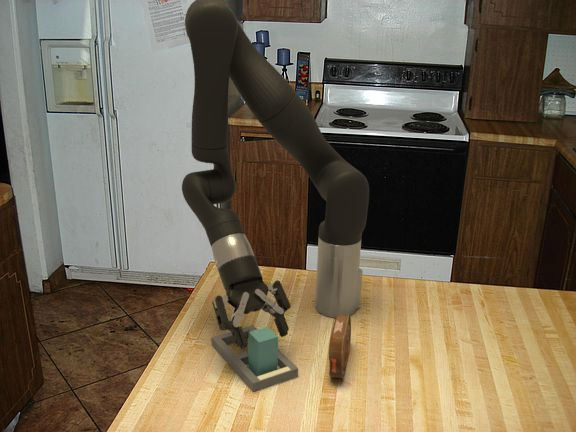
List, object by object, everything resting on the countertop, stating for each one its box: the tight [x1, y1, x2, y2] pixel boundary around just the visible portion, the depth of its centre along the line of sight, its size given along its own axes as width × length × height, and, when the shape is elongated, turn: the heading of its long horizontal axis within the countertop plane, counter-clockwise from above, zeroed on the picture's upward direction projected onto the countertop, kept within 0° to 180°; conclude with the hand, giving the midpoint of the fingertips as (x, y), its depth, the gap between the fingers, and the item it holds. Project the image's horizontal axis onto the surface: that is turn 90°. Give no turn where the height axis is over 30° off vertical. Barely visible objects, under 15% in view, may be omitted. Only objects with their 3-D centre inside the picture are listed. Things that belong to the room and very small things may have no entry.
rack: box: [210, 324, 299, 393], centre depth 122 cm, size 10×18×2 cm, turn 31°
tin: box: [328, 315, 352, 380], centre depth 121 cm, size 15×3×8 cm, turn 168°
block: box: [247, 326, 279, 377], centre depth 118 cm, size 4×4×8 cm
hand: (264, 341), depth 117 cm, fingers open, 8 cm apart
